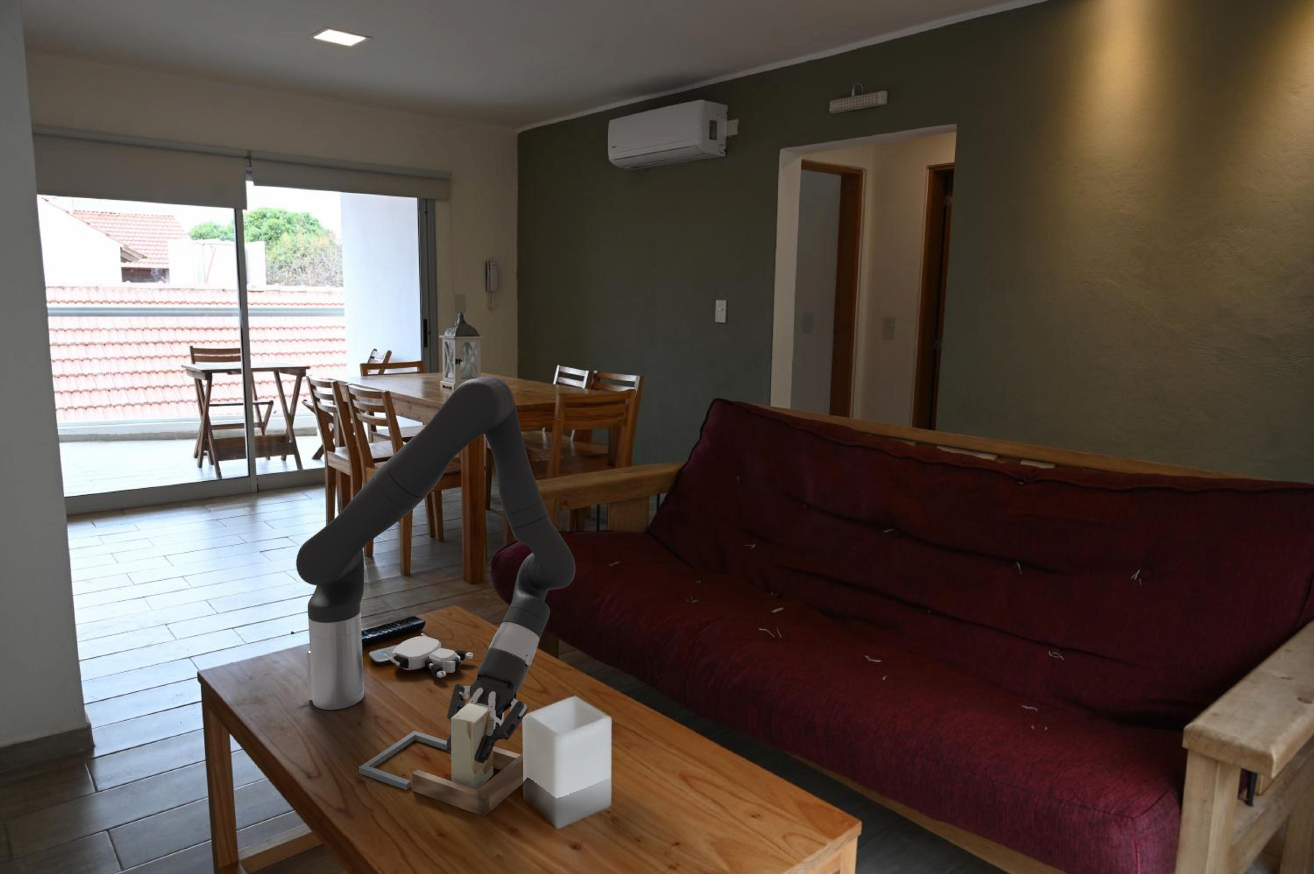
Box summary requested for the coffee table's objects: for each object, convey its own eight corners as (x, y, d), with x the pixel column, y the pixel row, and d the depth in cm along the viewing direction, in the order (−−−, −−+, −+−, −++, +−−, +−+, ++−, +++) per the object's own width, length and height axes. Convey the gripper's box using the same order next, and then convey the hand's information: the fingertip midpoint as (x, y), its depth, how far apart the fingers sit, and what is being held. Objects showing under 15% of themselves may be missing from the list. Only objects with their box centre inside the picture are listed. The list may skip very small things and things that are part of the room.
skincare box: (475, 795, 131) (473, 723, 129) (450, 790, 132) (448, 718, 130) (495, 773, 137) (494, 704, 135) (471, 768, 138) (470, 699, 136)
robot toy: (476, 666, 177) (418, 648, 183) (477, 646, 176) (419, 629, 182) (440, 691, 166) (380, 671, 172) (441, 670, 165) (381, 650, 171)
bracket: (359, 772, 136) (358, 767, 136) (414, 735, 148) (414, 730, 147) (406, 789, 132) (406, 784, 132) (459, 750, 143) (459, 744, 143)
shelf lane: (412, 790, 132) (411, 767, 131) (463, 752, 143) (462, 731, 142) (484, 816, 126) (484, 792, 125) (531, 774, 137) (531, 752, 136)
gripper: (465, 638, 140) (417, 737, 132) (536, 656, 134) (491, 761, 126) (485, 655, 146) (440, 752, 137) (554, 673, 140) (512, 776, 131)
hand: (464, 756), depth 132 cm, fingers closed on skincare box, 5 cm apart
